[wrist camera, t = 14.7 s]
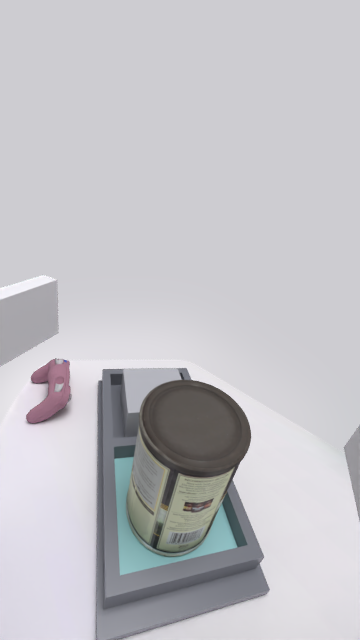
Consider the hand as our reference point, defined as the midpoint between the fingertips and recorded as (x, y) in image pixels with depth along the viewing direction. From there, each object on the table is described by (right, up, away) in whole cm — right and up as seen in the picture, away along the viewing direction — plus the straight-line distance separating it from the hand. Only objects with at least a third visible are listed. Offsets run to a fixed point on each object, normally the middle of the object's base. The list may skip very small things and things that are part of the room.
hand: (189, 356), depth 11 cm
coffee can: (-2, -20, +21) cm, 29 cm away
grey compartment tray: (-3, -18, +26) cm, 32 cm away
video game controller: (-21, -11, +32) cm, 40 cm away
